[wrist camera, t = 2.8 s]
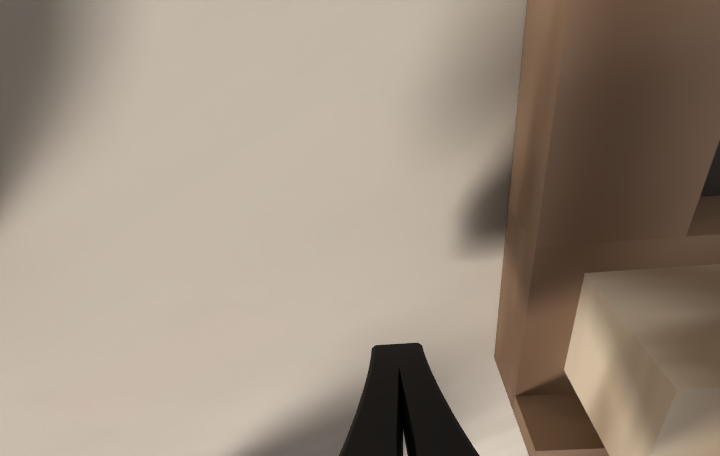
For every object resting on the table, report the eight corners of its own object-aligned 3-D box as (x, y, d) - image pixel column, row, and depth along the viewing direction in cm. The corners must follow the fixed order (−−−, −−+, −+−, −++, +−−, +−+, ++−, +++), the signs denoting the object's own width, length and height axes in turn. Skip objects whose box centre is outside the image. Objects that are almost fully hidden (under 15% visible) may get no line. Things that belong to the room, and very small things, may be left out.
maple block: (731, 263, 11) (891, 379, 8) (688, 363, 13) (801, 491, 10) (584, 273, 12) (678, 389, 8) (563, 369, 14) (631, 498, 10)
